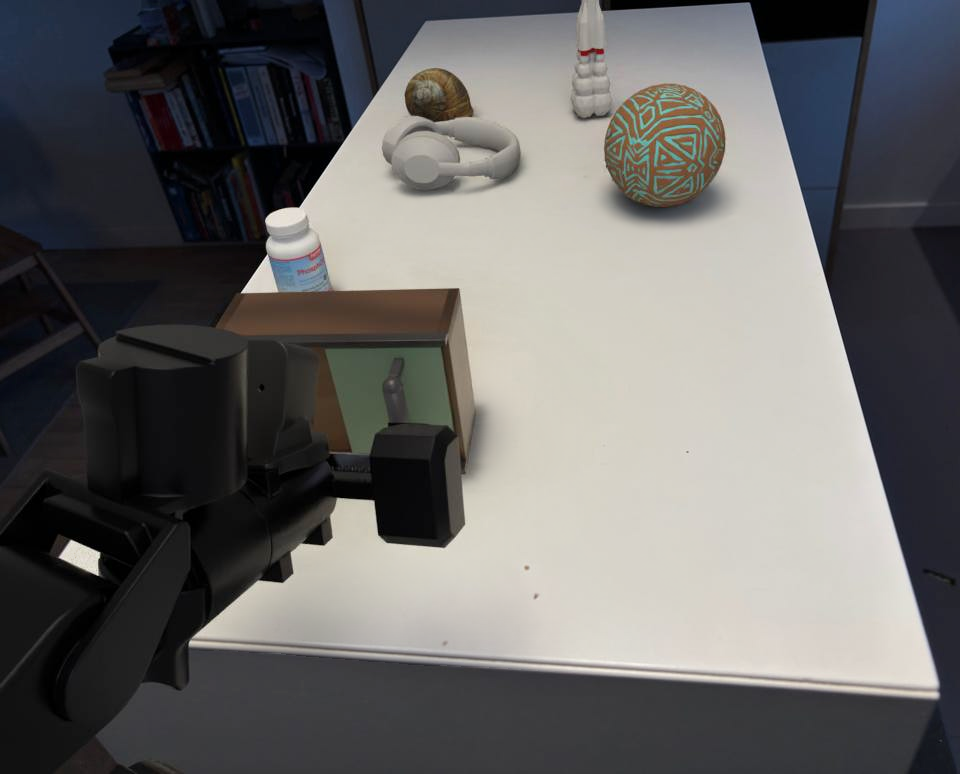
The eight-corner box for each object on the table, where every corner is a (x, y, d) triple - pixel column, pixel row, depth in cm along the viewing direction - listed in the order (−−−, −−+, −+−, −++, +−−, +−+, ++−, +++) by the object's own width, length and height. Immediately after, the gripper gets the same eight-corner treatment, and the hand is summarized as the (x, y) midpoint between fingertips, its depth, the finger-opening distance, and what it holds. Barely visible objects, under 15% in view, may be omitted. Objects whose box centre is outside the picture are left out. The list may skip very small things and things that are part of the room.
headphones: (403, 205, 112) (537, 191, 118) (402, 150, 108) (541, 138, 114) (373, 159, 126) (494, 148, 132) (370, 108, 122) (496, 99, 127)
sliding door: (451, 496, 68) (431, 377, 60) (345, 495, 70) (311, 378, 62) (458, 460, 72) (440, 343, 64) (356, 459, 73) (326, 344, 65)
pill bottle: (318, 320, 93) (295, 232, 86) (273, 313, 95) (247, 227, 88) (343, 292, 97) (323, 206, 90) (300, 286, 99) (276, 202, 92)
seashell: (404, 130, 137) (397, 82, 132) (411, 110, 144) (404, 64, 139) (471, 125, 135) (466, 77, 130) (475, 105, 143) (470, 58, 138)
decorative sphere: (738, 188, 108) (751, 74, 99) (688, 238, 100) (697, 117, 90) (638, 169, 116) (640, 61, 107) (583, 213, 107) (580, 99, 98)
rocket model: (597, 125, 130) (595, -89, 112) (560, 118, 134) (552, -90, 116) (622, 110, 134) (624, -99, 116) (585, 103, 138) (581, -100, 120)
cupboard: (465, 473, 71) (445, 339, 62) (249, 471, 74) (200, 343, 65) (476, 412, 78) (459, 283, 69) (276, 413, 81) (235, 289, 72)
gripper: (381, 372, 34) (492, 306, 48) (32, 368, 40) (224, 310, 54) (406, 613, 37) (504, 483, 51) (77, 575, 42) (248, 468, 57)
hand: (364, 431), depth 53 cm, fingers open, 9 cm apart
